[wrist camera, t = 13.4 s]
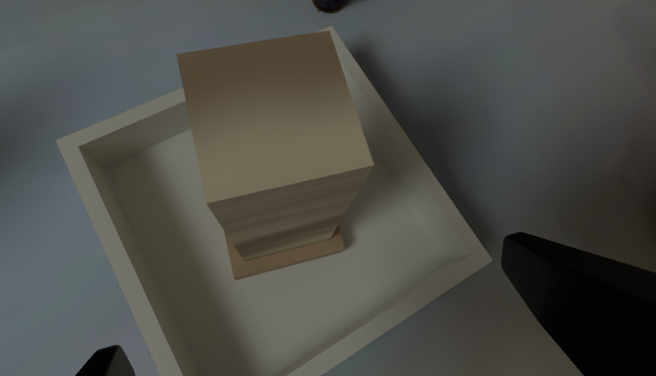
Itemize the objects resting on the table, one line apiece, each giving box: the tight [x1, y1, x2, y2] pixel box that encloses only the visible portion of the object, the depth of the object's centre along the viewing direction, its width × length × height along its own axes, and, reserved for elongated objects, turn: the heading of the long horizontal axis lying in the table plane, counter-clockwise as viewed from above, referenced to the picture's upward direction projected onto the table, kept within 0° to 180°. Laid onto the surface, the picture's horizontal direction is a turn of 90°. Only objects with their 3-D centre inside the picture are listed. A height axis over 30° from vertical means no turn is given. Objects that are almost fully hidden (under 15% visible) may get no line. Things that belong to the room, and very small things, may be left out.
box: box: [55, 26, 493, 376], centre depth 21 cm, size 16×16×4 cm
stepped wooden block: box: [177, 31, 374, 280], centre depth 17 cm, size 6×6×12 cm
